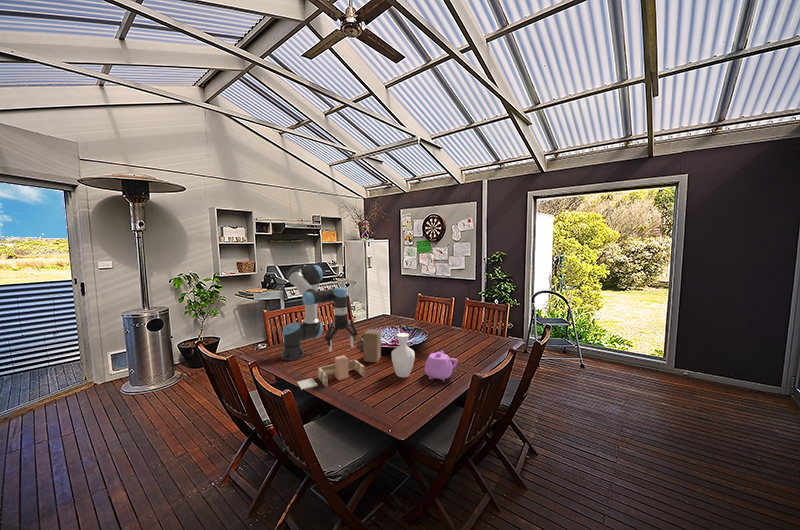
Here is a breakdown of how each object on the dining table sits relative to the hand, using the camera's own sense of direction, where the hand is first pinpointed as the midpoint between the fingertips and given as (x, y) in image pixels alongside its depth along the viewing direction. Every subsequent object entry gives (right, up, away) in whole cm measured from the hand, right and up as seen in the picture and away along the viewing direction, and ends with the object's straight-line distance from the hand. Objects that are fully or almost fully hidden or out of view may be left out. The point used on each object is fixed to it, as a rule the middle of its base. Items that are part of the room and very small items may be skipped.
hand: (341, 349), depth 179 cm
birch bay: (0, -17, +1) cm, 17 cm away
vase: (+37, -17, +5) cm, 41 cm away
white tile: (-18, -18, -8) cm, 27 cm away
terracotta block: (0, -17, +1) cm, 17 cm away
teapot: (+60, -18, +4) cm, 63 cm away
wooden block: (+16, -16, +28) cm, 36 cm away
